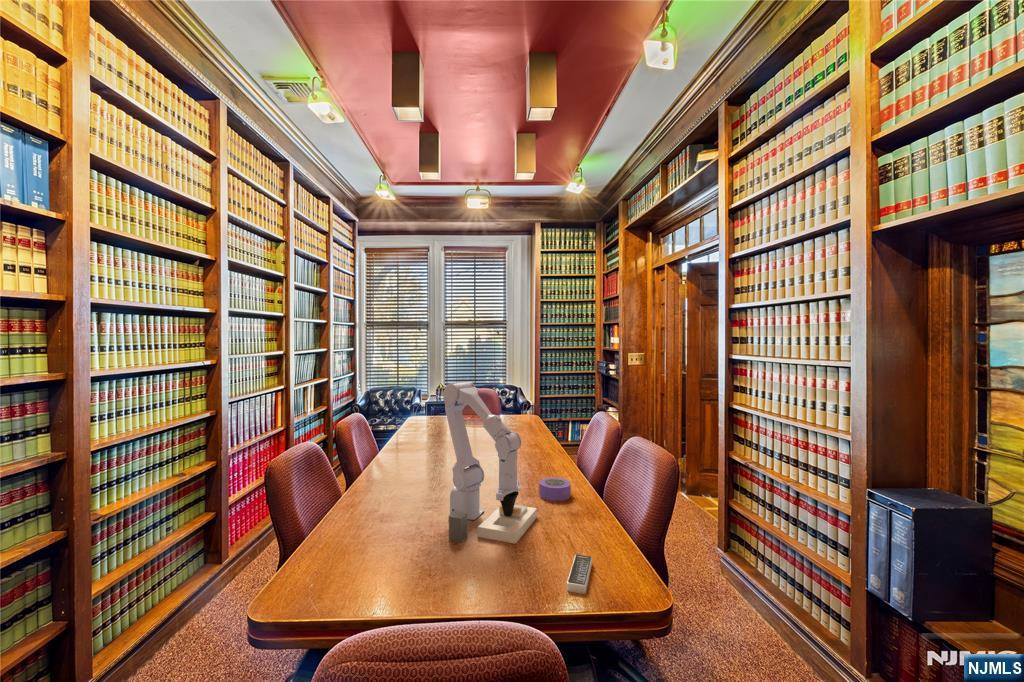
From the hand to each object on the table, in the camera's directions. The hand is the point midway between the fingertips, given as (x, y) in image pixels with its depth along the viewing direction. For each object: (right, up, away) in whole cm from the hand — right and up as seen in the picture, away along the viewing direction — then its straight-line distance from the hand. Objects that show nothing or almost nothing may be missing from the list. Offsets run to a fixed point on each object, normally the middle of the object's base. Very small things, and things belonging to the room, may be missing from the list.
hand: (508, 515), depth 140 cm
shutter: (+2, -1, +4) cm, 5 cm away
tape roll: (+17, -4, +28) cm, 34 cm away
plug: (-15, -4, -7) cm, 17 cm away
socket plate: (0, -4, +1) cm, 4 cm away
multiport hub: (+18, -5, -28) cm, 34 cm away
